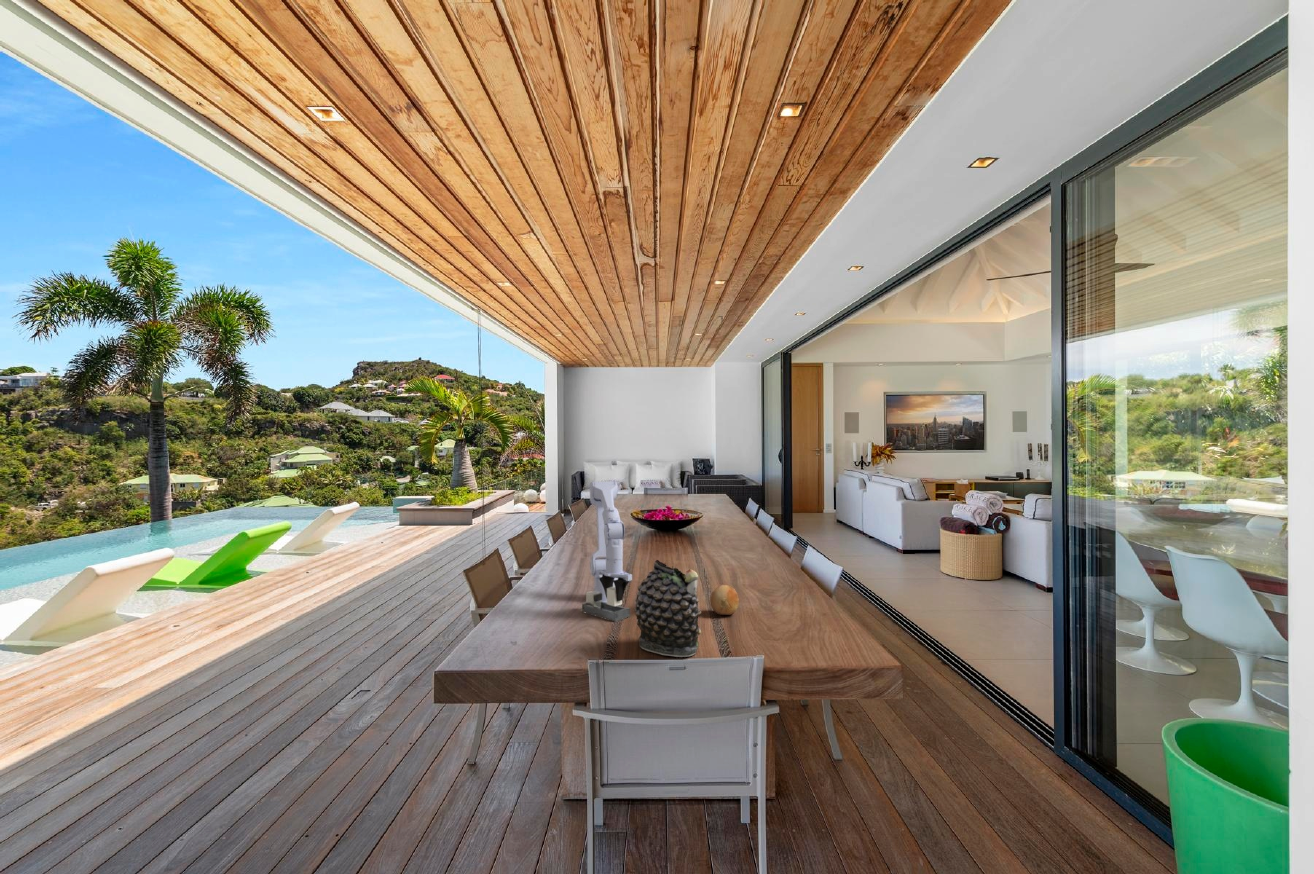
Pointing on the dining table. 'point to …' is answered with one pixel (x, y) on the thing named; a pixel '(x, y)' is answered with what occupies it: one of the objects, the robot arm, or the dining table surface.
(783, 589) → the dining table surface
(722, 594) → the onion
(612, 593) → the cream rectangular block
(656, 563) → the scaly pinecone figurine
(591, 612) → the rail
